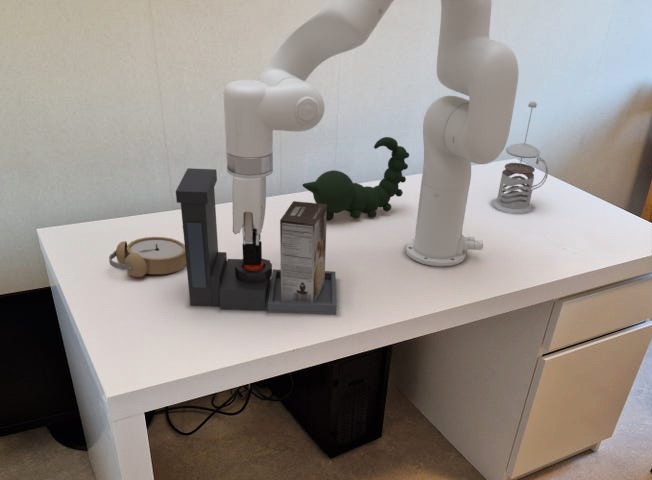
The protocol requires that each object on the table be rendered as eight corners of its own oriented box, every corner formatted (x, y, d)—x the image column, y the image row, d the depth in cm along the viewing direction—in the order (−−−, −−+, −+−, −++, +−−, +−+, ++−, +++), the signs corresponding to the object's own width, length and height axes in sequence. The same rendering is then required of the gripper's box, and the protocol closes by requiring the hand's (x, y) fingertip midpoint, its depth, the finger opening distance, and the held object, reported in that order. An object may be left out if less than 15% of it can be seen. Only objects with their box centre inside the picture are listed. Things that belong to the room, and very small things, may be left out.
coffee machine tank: (228, 279, 127) (222, 169, 115) (220, 308, 118) (213, 192, 106) (197, 278, 127) (187, 168, 115) (187, 307, 118) (175, 190, 106)
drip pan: (335, 280, 129) (335, 271, 128) (335, 315, 118) (336, 305, 117) (272, 278, 128) (272, 269, 127) (267, 313, 118) (267, 303, 117)
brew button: (264, 268, 122) (264, 258, 121) (262, 278, 119) (262, 267, 118) (244, 268, 122) (244, 258, 121) (242, 277, 119) (242, 267, 118)
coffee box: (292, 279, 127) (293, 199, 118) (325, 284, 126) (328, 203, 117) (279, 302, 120) (279, 219, 110) (314, 307, 119) (316, 223, 110)
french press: (490, 197, 170) (509, 94, 155) (536, 201, 169) (560, 98, 154) (493, 211, 162) (513, 105, 147) (541, 216, 161) (566, 109, 146)
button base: (274, 279, 128) (273, 251, 125) (269, 311, 118) (269, 281, 115) (228, 278, 128) (227, 249, 124) (220, 309, 118) (218, 280, 114)
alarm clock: (197, 254, 129) (121, 259, 120) (195, 277, 131) (120, 284, 122) (173, 233, 136) (100, 236, 127) (171, 256, 139) (99, 260, 130)
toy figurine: (385, 209, 164) (291, 212, 154) (399, 131, 154) (299, 129, 144) (404, 224, 157) (306, 228, 147) (419, 143, 147) (315, 142, 137)
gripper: (232, 147, 115) (236, 244, 125) (220, 176, 103) (226, 282, 113) (275, 149, 115) (276, 246, 126) (269, 178, 103) (270, 283, 113)
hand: (252, 262), depth 119 cm, fingers closed
